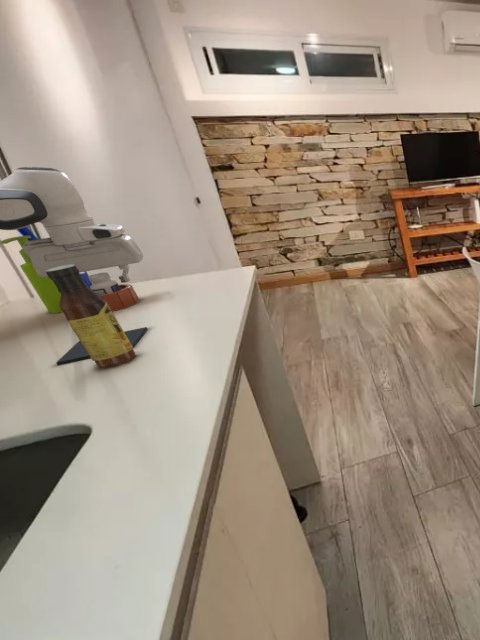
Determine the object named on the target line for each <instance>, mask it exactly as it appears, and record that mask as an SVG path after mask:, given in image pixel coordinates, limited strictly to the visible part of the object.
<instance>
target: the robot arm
mask: <svg viewBox="0 0 480 640" xmlns="http://www.w3.org/2000/svg"><path fill="white" fill-rule="evenodd" d="M36 223H40V224H41V225H42V226H43V228H44V230H45V231H46V233H47V235H48V236H49V237H44V238H40V239H29V240H28V243H25V244H24V246H23V249H24V251H25V253H26V254H27V256H28V257H30V258H31V261H32V264H33V266H34V268H35V270H36V272H37V274H38V275H39V276H41V277H43V278H49V277H48V275H47V273H46V270H48V269H52V268H55V267H59V266H64V265H72V264H73V265H76V267H77V268H78V270H79V273H85V272H90V271H96V270H102V269H108V268H114V267H118V269H119V271H120V270H121V271H122V273H121V274H120V275H119V276H118V279H119V280H120V282H121V284H125V283H128V282H130V281H131V278H130V276H129V275H128V274H129V270H130V265H133V264H138V263H141V262H142V261H143V259H144V255H143V252H142V250H141V248H140V247H139V246H138V244H137V243H136V241H135V240H134V238H132V237H131V236H129V235H128V234H125V228H124V226H122V225H121V224H114V223H103V222H95V220H94V219H93V217H92V215H91V214H89V212H88V211H87V210H86V207H85V203H84V200H83V198H82V196H81V194H80V193H79V191H78V189H77V188H76V186H75V185H74V183H73V181H72V180H71V179H70V178H69V177H68V175H66V173H64V172H63V171H61V170H58V169H57V168H53V167H44V166H43V167H41V166H40V167H39V166H22V167H17V168H15V170H14V171H13V172H11V174H8V176H6V177H4V178H2V179H1V180H0V230H1V231H16V230H20V229H24V228H26V227H28V226H31V225H34V224H36ZM28 244H29V245H28ZM27 245H28V246H27Z"/></svg>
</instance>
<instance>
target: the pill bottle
mask: <svg viewBox="0 0 480 640" xmlns="http://www.w3.org/2000/svg"><path fill="white" fill-rule="evenodd" d="M87 279H88V281H89V282H90V283H91V285H90V286H89V288H91V289H92V290H93V291H94V292H95V293H97V294H98V295H104V294H108V293H112V292H116V291H119V290H121V288H120V287H119V285H120V284H119V282H118V281H116V280H115V279H111V276H110V274H109V272H106V271H105V272H99V273H94V274H91V275H88V276H87Z"/></svg>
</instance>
